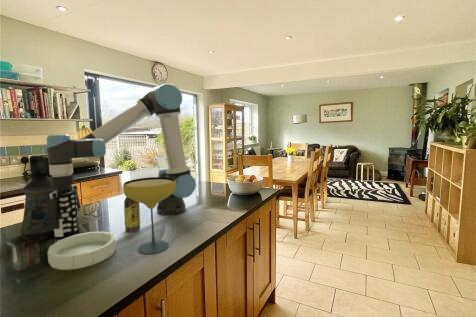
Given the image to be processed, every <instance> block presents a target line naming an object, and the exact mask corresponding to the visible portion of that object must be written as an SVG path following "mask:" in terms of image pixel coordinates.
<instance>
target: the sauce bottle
mask: <svg viewBox="0 0 476 317" xmlns="http://www.w3.org/2000/svg"><path fill="white" fill-rule="evenodd" d="M123 205H124V206H123V210H124V214H123V215H124V226H125V232H129V233H131V232H136V231H138V230H140V228H141V216H140V215H141V213H140V210H141V208H140V202H137V201H134V200H131V199H129V198H128V197H127V196H125V199H124V202H123Z"/></svg>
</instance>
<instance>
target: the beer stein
mask: <svg viewBox="0 0 476 317" xmlns="http://www.w3.org/2000/svg"><path fill="white" fill-rule="evenodd" d="M50 177H51V176H49V175H48V174H40V175H36V176H35V175H34V178H33V179H32V180H31V181H29V182H28V183H27V184H25V186H24V187H23V188H22V191H23V193H24V194H25V200H24V201H25V202H24V211H23V219H22V222H21V226H20V228H19V229H20V230H19V233H20V234H21V235H20V236H21V238H22V239H23V240H24V241H41V240H42V241H43V240H47V239H50V238H55V237H54V227H53V221H52V220H48V196H47V195H48V193H53V191H54V187H53V186H51V183H50ZM46 238H47V239H46Z"/></svg>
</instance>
